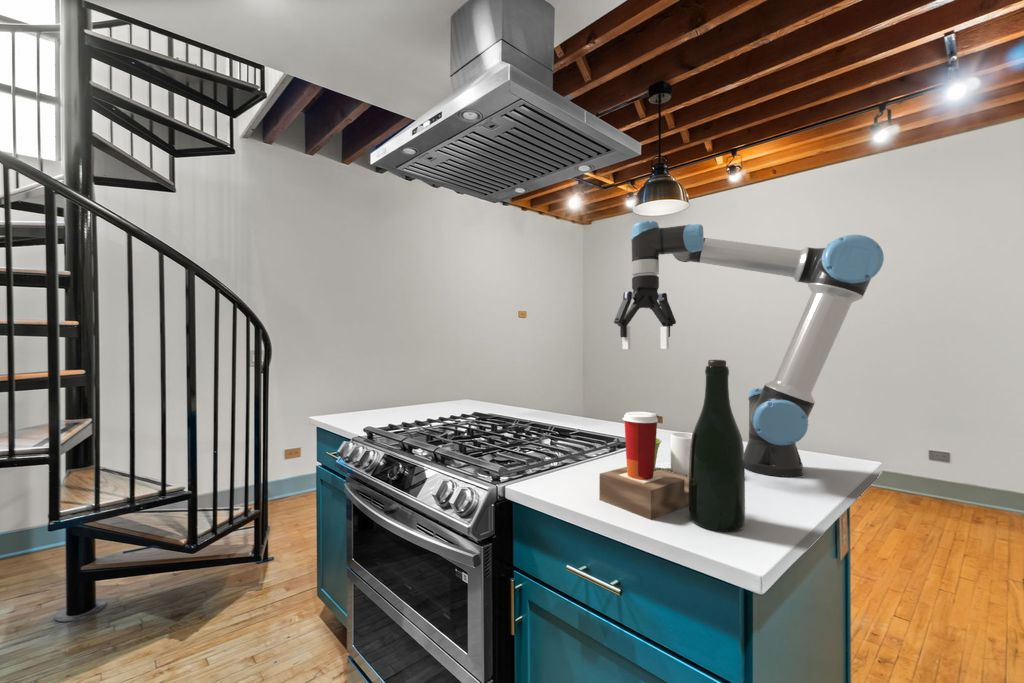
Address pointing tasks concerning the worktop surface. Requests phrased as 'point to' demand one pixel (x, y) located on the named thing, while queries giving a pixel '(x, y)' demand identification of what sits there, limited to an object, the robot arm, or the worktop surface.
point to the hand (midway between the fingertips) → (645, 349)
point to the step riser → (645, 492)
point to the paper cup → (640, 444)
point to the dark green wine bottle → (717, 459)
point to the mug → (680, 452)
